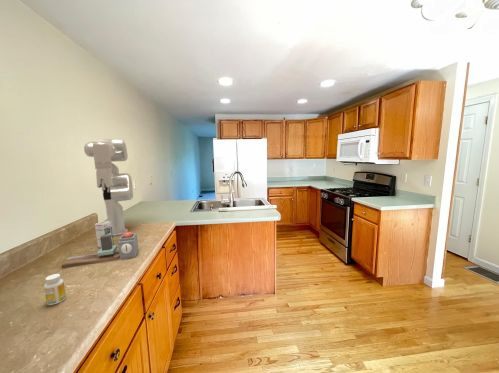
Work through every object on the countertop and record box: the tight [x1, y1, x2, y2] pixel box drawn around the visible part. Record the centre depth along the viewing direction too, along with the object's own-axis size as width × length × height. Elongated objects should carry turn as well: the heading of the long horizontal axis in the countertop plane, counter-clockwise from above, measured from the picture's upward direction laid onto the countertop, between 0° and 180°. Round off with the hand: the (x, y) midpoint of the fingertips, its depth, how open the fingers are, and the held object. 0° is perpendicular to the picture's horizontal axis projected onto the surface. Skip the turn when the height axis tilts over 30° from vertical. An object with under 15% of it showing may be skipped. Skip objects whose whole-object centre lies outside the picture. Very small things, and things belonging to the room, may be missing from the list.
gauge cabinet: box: [117, 232, 139, 260], centre depth 115 cm, size 11×7×10 cm, turn 18°
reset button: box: [122, 231, 133, 238], centre depth 114 cm, size 4×4×2 cm
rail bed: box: [61, 249, 121, 269], centre depth 111 cm, size 10×24×3 cm, turn 109°
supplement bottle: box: [43, 273, 67, 306], centre depth 79 cm, size 5×5×10 cm
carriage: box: [96, 235, 118, 256], centre depth 112 cm, size 8×7×9 cm
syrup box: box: [94, 220, 114, 248], centre depth 127 cm, size 6×6×14 cm
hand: (107, 199), depth 118 cm, fingers closed
